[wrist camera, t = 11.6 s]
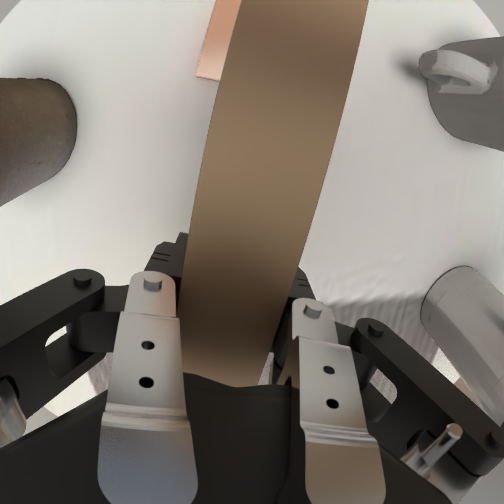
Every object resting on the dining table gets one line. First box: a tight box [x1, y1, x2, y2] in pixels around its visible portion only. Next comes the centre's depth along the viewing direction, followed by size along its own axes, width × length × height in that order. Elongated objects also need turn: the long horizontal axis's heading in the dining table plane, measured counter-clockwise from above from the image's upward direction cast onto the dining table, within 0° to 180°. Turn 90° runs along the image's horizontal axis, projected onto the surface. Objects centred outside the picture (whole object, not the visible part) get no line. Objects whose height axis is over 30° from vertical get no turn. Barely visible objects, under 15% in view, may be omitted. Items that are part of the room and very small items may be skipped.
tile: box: [195, 0, 242, 81], centre depth 20 cm, size 8×2×10 cm
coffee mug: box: [419, 37, 504, 151], centre depth 18 cm, size 13×10×10 cm
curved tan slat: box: [177, 0, 369, 387], centre depth 12 cm, size 22×3×6 cm, turn 167°
